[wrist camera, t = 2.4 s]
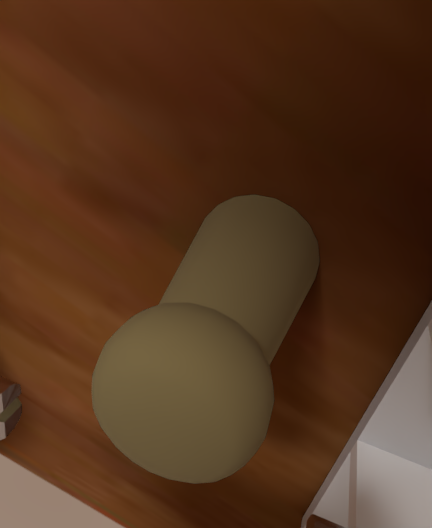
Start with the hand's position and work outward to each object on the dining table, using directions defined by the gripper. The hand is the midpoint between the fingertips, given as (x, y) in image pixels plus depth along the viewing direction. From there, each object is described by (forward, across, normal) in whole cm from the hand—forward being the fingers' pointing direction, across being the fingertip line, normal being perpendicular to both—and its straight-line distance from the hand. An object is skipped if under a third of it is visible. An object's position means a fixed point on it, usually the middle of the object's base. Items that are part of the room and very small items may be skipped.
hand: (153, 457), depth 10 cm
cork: (+11, 0, -1) cm, 11 cm away
